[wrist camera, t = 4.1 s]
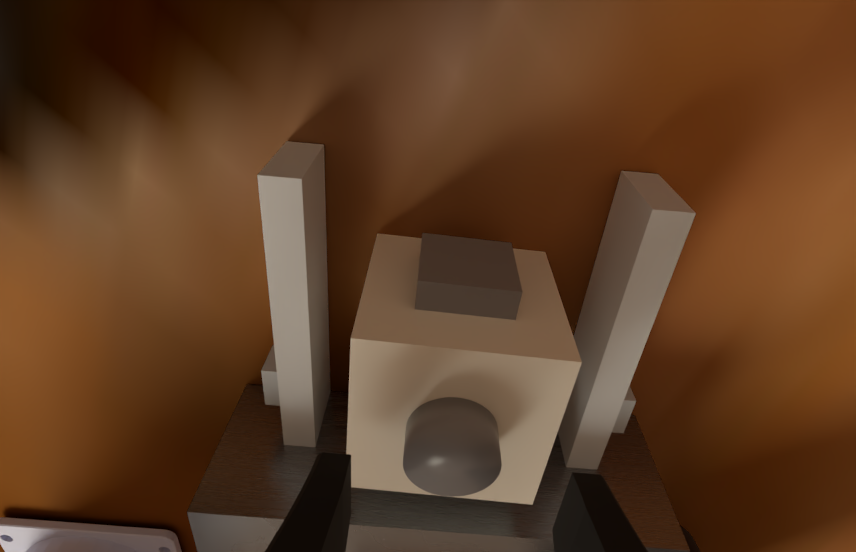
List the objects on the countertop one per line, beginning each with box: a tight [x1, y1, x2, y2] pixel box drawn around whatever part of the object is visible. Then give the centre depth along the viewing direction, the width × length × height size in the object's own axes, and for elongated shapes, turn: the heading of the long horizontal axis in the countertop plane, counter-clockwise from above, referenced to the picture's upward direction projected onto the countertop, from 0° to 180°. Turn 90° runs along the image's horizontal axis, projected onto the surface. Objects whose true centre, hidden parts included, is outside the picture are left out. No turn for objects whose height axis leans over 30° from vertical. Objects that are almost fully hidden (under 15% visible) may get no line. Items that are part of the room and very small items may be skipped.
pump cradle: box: [257, 141, 696, 470], centre depth 15 cm, size 9×11×2 cm
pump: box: [346, 233, 582, 505], centre depth 14 cm, size 6×5×6 cm
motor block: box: [187, 384, 690, 552], centre depth 18 cm, size 6×14×6 cm, turn 86°
